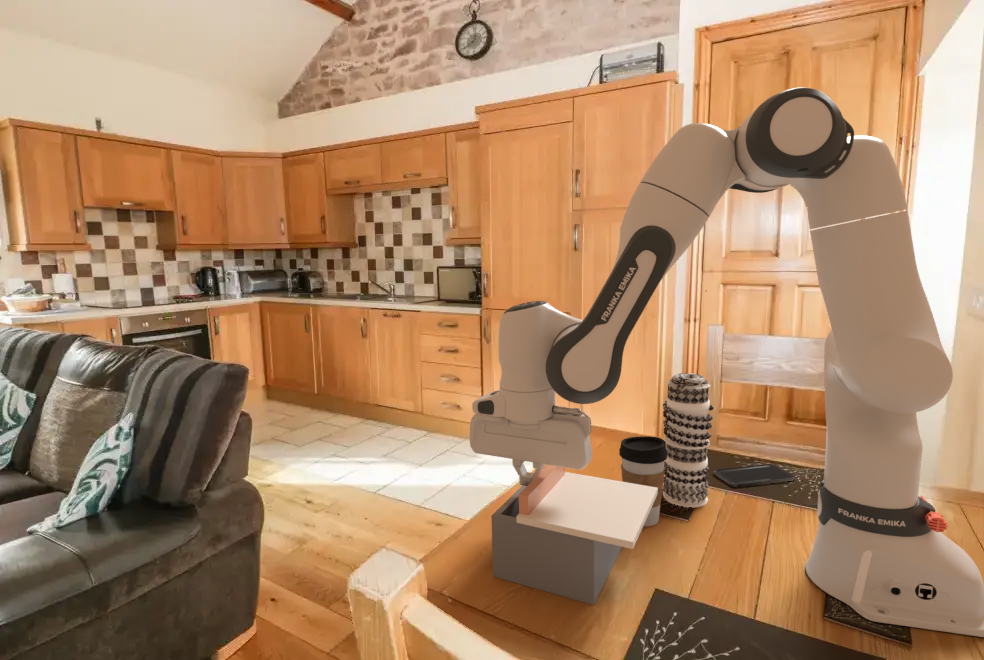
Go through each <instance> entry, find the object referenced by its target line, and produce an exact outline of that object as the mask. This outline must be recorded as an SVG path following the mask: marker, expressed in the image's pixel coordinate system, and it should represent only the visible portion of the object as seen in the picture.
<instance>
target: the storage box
mask: <svg viewBox="0 0 984 660" xmlns="http://www.w3.org/2000/svg"><path fill="white" fill-rule="evenodd" d="M526 487H527V486H523V485H520V487H519V488H518V489H517V490H516V491H515V492H514V493H513V494H512V495H511V496H510V497H509V498H508V499H507V500H506V501H504V502H503V504H502V505H501V506H500V507H499V508H498V509H497V510H496V511H495V512H493V514H492V515H491V544H492V547H491V550H492V575H493V576H492V577H493V578H498V579H500V580H505V581H507V582H508V581H509V582H511V583H514V584H519V585H523V586H524V587H525V586H526V587H528V588H532V589H537V590H540V591H543V592H546V593H550V594H554V595H558V596H560V597H565V598H568V599H571V600H575V601H579V602H581V603H584V604H585V603H586V604H589V605H593V606H595V604H596V602H597V600H598V598H599V596H600V594H601V592H602V590H603V588H604V586H605V584H606V581H607V579H608V577H609V575H610V573H611V571H612V569H613V567H614V565H615V563H616V561H617V558H618V557H619V555H620V553H621V550H622V548H623V547H621V546H617V545H613V544H608V543H604V542H599V541H595V540H591V539H586V538H582V537H577V536H573V535H569V534H564V533H560V532H555V531H551V530H547V529H542V528H538V527H533V526H529V525H525V524H520V523H517V521H516V516H517V515H518V514H519V494H520V493H521V492H522V491H523V490H524V489H525V488H526Z"/></svg>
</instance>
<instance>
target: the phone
mask: <svg viewBox="0 0 984 660" xmlns="http://www.w3.org/2000/svg"><path fill="white" fill-rule="evenodd" d="M713 475H714V477H716V478H717V477H718V478H717V479H719V480H720V479H721V480H720V481H722V480H723V481H724V482H723V481H722V482H723V483H725V484H726V483H727V484H726V485H728V484H729V485H730V486H729V485H728V486H729V487H731V486H732V487H731V488H734V487H741V488H747V487H746V486H750V487H756V486H755V485H759V486H762V485H761V484H767V485H771V484H770V483H774V482H782V481H793V480H795V481H796V476H795V475H793V474H792V473H790V472H788V471H786V470H784V469H783V468H781V467H779V466H777V465H775V464H758V465H757V464H756V465H748V466H747V465H746V466H737V467H730V468H720V469H719V468H717V469H714V470H713ZM793 482H794V481H793Z"/></svg>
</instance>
